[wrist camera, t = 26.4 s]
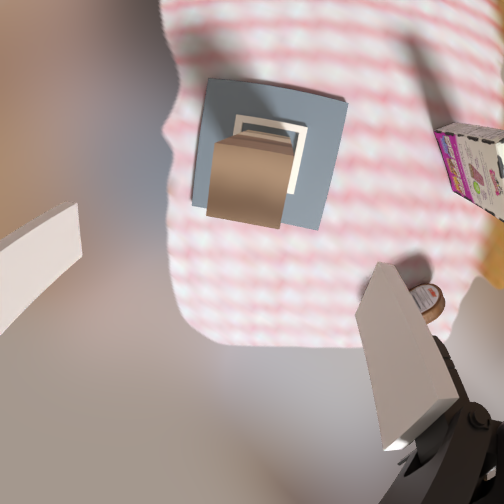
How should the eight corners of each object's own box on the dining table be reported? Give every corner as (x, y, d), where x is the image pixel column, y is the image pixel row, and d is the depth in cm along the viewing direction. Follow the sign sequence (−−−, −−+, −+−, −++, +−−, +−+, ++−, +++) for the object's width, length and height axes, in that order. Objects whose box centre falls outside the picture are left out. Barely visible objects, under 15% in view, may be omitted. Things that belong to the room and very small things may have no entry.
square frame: (237, 114, 37) (236, 114, 37) (307, 127, 37) (307, 127, 36) (226, 180, 42) (225, 181, 41) (293, 193, 42) (293, 194, 41)
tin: (369, 321, 52) (378, 351, 44) (364, 311, 51) (373, 341, 44) (435, 285, 47) (452, 312, 39) (431, 273, 46) (449, 299, 38)
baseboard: (210, 78, 36) (208, 78, 35) (346, 103, 35) (348, 103, 35) (193, 203, 45) (191, 205, 44) (317, 228, 45) (317, 230, 44)
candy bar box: (472, 181, 37) (531, 215, 22) (452, 191, 39) (509, 230, 24) (454, 120, 33) (519, 131, 19) (432, 129, 35) (495, 143, 20)
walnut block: (236, 134, 29) (214, 142, 20) (291, 143, 29) (294, 156, 20) (229, 186, 32) (206, 215, 23) (281, 195, 32) (279, 229, 23)
